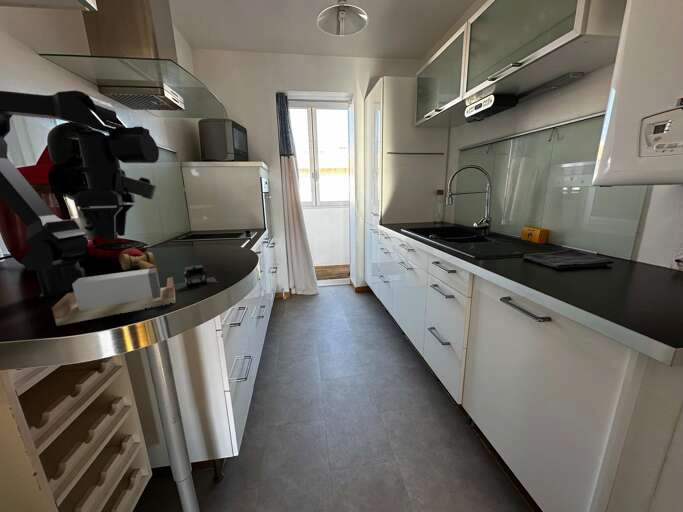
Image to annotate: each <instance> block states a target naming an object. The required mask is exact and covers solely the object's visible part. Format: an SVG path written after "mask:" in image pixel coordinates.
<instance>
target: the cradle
mask: <svg viewBox="0 0 683 512" xmlns="http://www.w3.org/2000/svg"><path fill="white" fill-rule="evenodd" d="M174 284H175V283H174V277H173V276H171V277H167V279H166V286H165V287H160V289H161V293H160V297H155V298H150V299H144V300H139V301H133V302H127V303H122V304H116V305H111V306H105V307H100V308H94V309H88V310H83V311H79V308H78V304H77V301H76V297H75V293H74V292H73V293H67V294H64V296H63V297H62V298H61V299H60V300H58V302H56V303H55V305H53V306H52V307H51V311H52V313H53V317H54V321H55V325H56V326H58V327H59V326H64V325H69V324H75V323H79V322H83V321H88V320H94V319H99V318H104V317H110V316H114V315H115V314H116V315H119V314H120V313H121V314H125V313H129V312H130V313H131V312H135V311H136V312H137V311H141V310H145V308H147V309H151V307H152V308H155V307H161V305H162V306H166V304H167V305H171V304H170V303H172V304H176V291H175V287H174ZM116 315H115V316H116Z"/></svg>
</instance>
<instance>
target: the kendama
mask: <svg viewBox="0 0 683 512" xmlns="http://www.w3.org/2000/svg"><path fill="white" fill-rule="evenodd" d="M118 262H119V264H120V265H121V269H122V270H123V271H129V270H134V269H137V268H140V270H144V269H152V268H157V273H158V274H159V273H160V268H159V266H157V265H155V257H154V254H153V253H152V252H150V251H148V252H144V253H143V252H142V251H141V250H139V249H137V248H133V247H130V248H127V249H124V250H122V251H121V253H120V254H119V256H118Z"/></svg>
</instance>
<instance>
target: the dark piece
mask: <svg viewBox="0 0 683 512" xmlns="http://www.w3.org/2000/svg"><path fill="white" fill-rule="evenodd" d="M184 270H185V271H183V277H184V279H185V282H180V283H174V286H175V289H176V291H175V292H178V291H183V290H188V289H193V288H192V287H194V288H197V287H196V286H199V285H204V286H208V285H207V284H209V285H212V284H211V283H214V284H218V283H217V282H218V281H216V279H215V278H214V277H215V276H212V277H207V272H206V270H205V269H204V266H203V265H202V264H199V265H191V266H186V267H184ZM196 276H197V277H198V276H200V277H199V278H195V279H191V278H193V277H196ZM201 276H202V277H201ZM199 287H200V286H199ZM187 288H188V289H187ZM182 289H183V290H182Z"/></svg>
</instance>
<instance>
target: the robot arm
mask: <svg viewBox="0 0 683 512" xmlns="http://www.w3.org/2000/svg"><path fill="white" fill-rule="evenodd" d="M13 116H22V117H29V118H30V117H32V118H39V119H40V118H41V119H42V118H43V119H52V120H61V121H68V122H70V123H71V122H72V123H76V124H79V125H83V126H87V127H90V128H92V130H88V129H86V128H84V127H82V126H79V125H78V126H77V125H73V128H71V129H70V130H68V131H67V133H65V137H66V138H67V139H72V140H77V141H78V144H79V149H80V153H81V158H82V164H83V166H81V167H80V170H81V174H82V173H83V174H85V177H86V181H87V186H88V188H85V190H78V192H76V193H75V195H74V196H73V199H74V203H75V207H78V208H79V210H80V212H82V213H83V215H85V217H87V219H89V221H90V222H91V224H93V225H94V227H96V229H97V230H98V231H99V232H100V233H101V235H102V236H103V237H104V238H105V240H106V241H107V242H108V243H115V242H116V236H117V235H118V236H119V237H123V236H125V234H126V226H127V215H128V212H129V211H130V210H131V208H133V207H134V206H135V203H136V199H135V195H136V196H137V195H138V196H140V197H142V198H144V199H147V200H153V199H154V196H155V192H156V188H157V186H156V185H155V184H152V183H151V180H150V179H149V178H146V177H143V176H141V177H140V178H139V179H135V178H131V177H128V176H126V171H125V170H124V169H122V168H121V163H120V162H122V163H124V164H155V163H156V162H158V160H159V158H160V150H159V146H158V145H157V142H156V141H155V139H154V137H152V135H151V133H150V129H149V128H148V127H144V126H133V127H128V126H127V125H126V123H124V122H123V121H122V119H120V118H119V116H118V115H117V111H116V109H115V108H114V106H113V105H112V104H111V103H110V102H108V101H106V100H103V99H100V98H98V97H96V96H93V95H91V94H88V93H85V92H83V91H80V90H77V89H76V90H64V91H57V92H56V93H54V94H50V95H48V94H47V95H46V94H45V95H44V94H35V93H29V92H28V93H25V92H16V91H7V90H6V91H5V90H0V197H1V198H2V199H3V201H4V202H5V203H6V205H8V206H9V208H10V209H11V210H12V211H13V212H14V213H15V214H16V216H17V217H18V218H19V220H20V221H21V222H22V223H23V224H24V225H25V227H26V238H25V239H26V242H27V243H28V245H29V246H30V250H28V251H27V253H26V254H25V256H24V257H23V258H22V260H21V264H22V265H23V266H24V268H25V269H26V271H35V272H36V275H37V278H38V281H39V285H40V289H41V292H42V293H40V295H39V298H40V299H43V298H49V297H56V296H62V295H66V294H67V293H73V292H74V290H73V286H72V284H73V283H74V282H75V281H76V280H78V279H79V278H85V277H87V275H86V272H85V269H84V267H81V265H80V261H83V262H84V261H85V260H86V255H87V250H88V245H89V240H88V238H87V237H86V235H87V233H86V232H85V231H83V230H82V228H81V227H80V226H79V224H78V223H77V221H75V220H74V219H61V218H60V217H58V216H57V215H55V213H54V212H53V211H52V210H51V208H50V207H49V206H48V205H47V204H46V202H45V201H44V199H42V198H41V196H40V195H39V194H38V193H37V191H36V190H35V189H34V188H33V187H32V185H31V184H30V183H29V181H28V180H26V178H25V177H24V175H22V173H21V172H20V170H18V168H17V167H16V166H15V165H14V164H13V162H12V161H11V160H10V159H9V157H8V147H9V145H8V142H7V141H6V140H5V138H6V136H8V134H9V133H10V131H11V120H10V119H11V118H12V117H13ZM93 129H94V130H93ZM104 132H106V133H108V134H105V133H104ZM116 234H117V235H116Z"/></svg>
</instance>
